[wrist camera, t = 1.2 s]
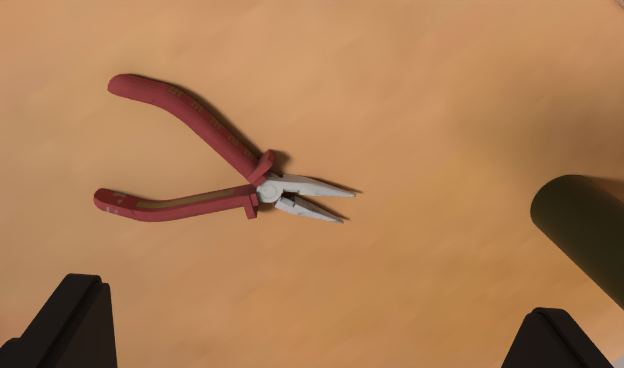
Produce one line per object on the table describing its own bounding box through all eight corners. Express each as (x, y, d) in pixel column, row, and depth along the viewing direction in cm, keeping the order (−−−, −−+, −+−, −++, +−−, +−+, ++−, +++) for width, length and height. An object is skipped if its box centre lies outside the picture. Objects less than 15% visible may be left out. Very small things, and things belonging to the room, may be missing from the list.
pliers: (325, 254, 39) (328, 271, 36) (99, 199, 35) (85, 214, 32) (372, 142, 34) (379, 154, 32) (118, 64, 30) (104, 71, 28)
